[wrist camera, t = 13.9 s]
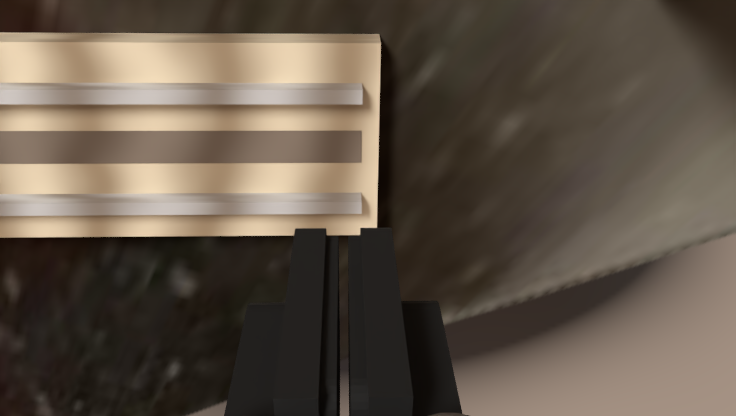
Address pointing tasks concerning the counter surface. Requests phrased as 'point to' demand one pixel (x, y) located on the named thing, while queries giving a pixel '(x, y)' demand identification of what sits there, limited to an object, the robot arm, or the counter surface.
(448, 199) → the counter surface
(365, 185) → the fader board
